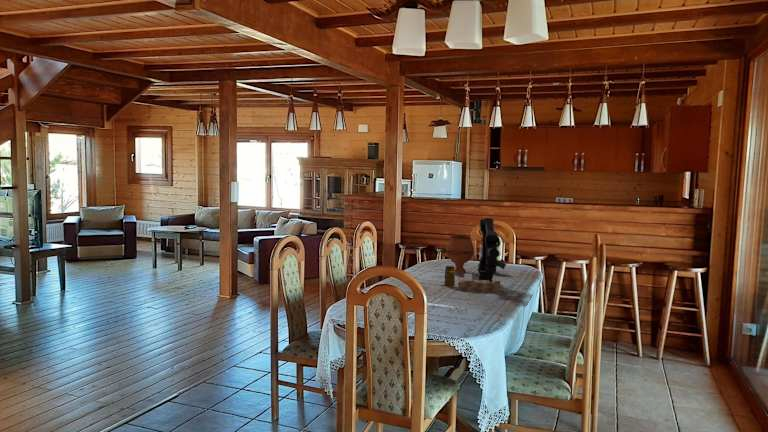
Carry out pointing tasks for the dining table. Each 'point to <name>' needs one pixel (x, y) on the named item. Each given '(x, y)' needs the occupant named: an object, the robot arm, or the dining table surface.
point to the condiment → (449, 277)
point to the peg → (467, 277)
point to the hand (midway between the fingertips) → (490, 282)
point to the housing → (479, 286)
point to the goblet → (460, 251)
